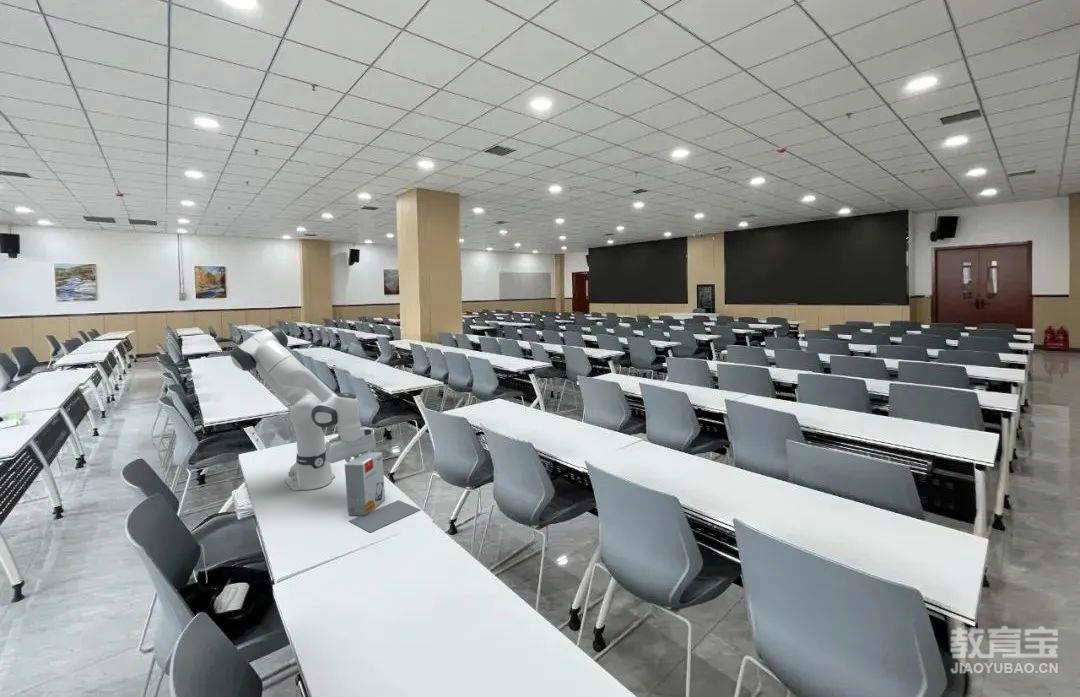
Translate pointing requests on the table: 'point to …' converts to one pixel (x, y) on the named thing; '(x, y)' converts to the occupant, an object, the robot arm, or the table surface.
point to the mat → (384, 516)
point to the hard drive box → (364, 483)
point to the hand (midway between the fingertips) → (352, 466)
